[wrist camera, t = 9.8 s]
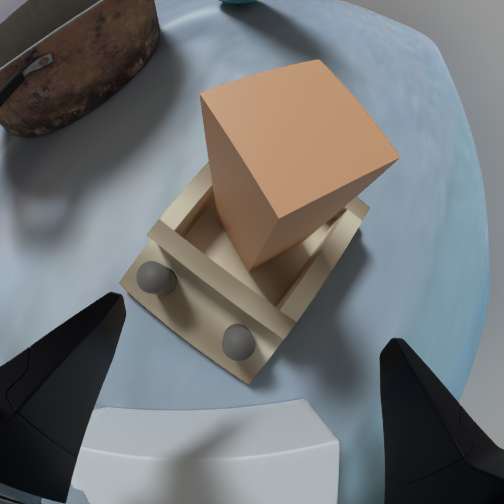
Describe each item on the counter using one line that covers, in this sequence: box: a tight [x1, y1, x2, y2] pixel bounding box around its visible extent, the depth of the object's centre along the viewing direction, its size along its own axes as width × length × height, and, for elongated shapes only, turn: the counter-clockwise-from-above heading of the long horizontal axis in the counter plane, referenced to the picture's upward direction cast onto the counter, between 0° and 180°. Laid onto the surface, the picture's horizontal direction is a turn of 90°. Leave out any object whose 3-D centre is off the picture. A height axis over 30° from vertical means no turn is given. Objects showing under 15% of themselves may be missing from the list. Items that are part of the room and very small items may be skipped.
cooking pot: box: [0, 0, 160, 138], centre depth 17 cm, size 30×22×11 cm
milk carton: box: [71, 399, 339, 504], centre depth 13 cm, size 7×7×19 cm
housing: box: [119, 162, 370, 385], centre depth 17 cm, size 14×11×4 cm
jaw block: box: [200, 59, 400, 272], centre depth 13 cm, size 4×4×12 cm
